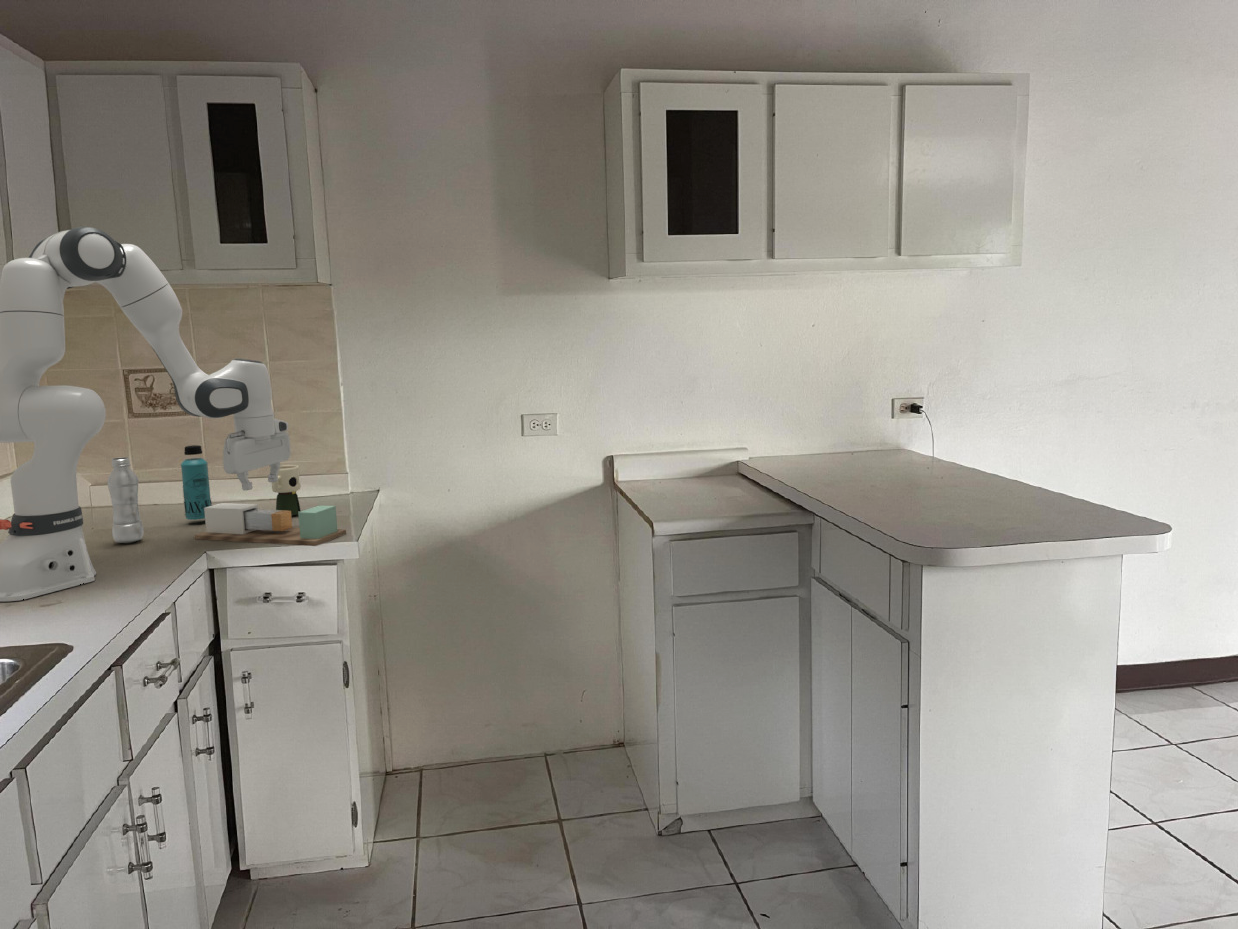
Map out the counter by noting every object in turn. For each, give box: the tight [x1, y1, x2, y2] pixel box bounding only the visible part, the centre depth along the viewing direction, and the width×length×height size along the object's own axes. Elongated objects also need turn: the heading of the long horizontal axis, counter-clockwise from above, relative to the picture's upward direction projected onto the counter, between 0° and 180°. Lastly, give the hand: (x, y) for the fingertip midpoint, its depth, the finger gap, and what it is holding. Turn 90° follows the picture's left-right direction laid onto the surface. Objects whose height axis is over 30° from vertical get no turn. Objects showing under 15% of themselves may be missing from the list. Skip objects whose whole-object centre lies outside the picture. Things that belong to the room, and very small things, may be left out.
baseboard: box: [193, 526, 347, 547], centre depth 224 cm, size 34×12×1 cm, turn 73°
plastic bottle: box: [106, 456, 145, 544], centre depth 221 cm, size 6×7×20 cm
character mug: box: [269, 464, 302, 516], centre depth 248 cm, size 11×7×13 cm, turn 173°
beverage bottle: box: [180, 444, 212, 521], centre depth 241 cm, size 6×7×20 cm
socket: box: [297, 505, 338, 539], centre depth 220 cm, size 4×8×6 cm, turn 163°
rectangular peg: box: [243, 508, 293, 531], centre depth 225 cm, size 20×4×4 cm, turn 73°
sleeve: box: [204, 502, 259, 534], centre depth 227 cm, size 11×6×6 cm, turn 73°
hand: (260, 485), depth 224 cm, fingers open, 8 cm apart
